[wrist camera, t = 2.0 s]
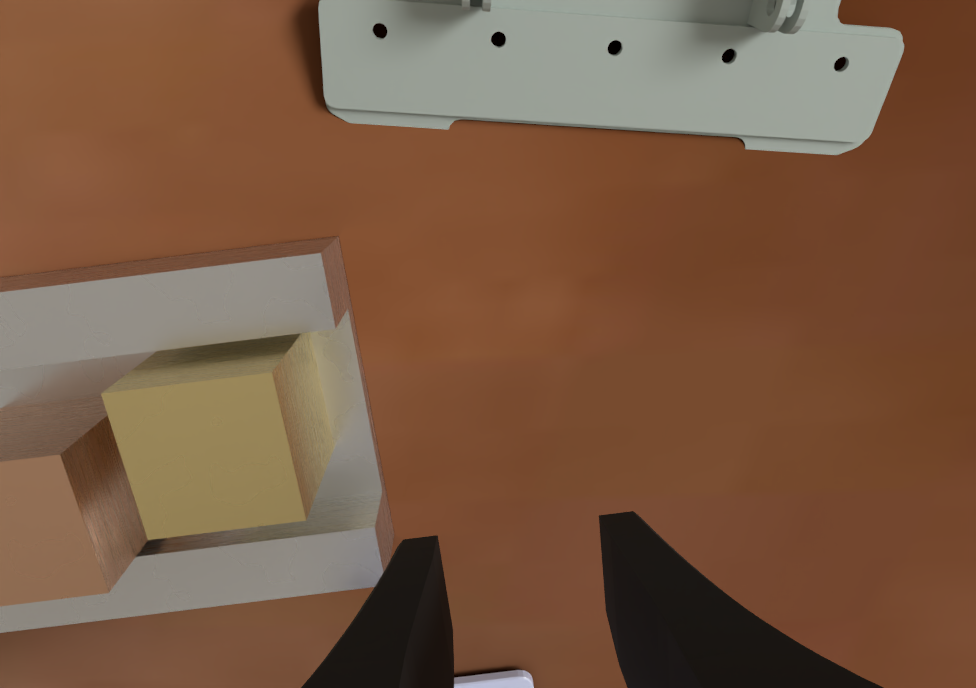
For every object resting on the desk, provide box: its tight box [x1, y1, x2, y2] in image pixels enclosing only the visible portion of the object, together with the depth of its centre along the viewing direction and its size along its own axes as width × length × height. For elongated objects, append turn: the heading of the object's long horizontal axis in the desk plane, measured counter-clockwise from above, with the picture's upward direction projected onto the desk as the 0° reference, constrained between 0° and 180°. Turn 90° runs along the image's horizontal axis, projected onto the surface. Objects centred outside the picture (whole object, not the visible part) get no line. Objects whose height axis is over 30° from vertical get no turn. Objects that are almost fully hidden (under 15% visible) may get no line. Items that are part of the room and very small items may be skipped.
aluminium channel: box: [0, 236, 394, 633], centre depth 20 cm, size 10×12×3 cm
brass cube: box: [101, 332, 334, 540], centre depth 18 cm, size 4×4×4 cm
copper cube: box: [0, 396, 148, 606], centre depth 19 cm, size 4×4×4 cm
